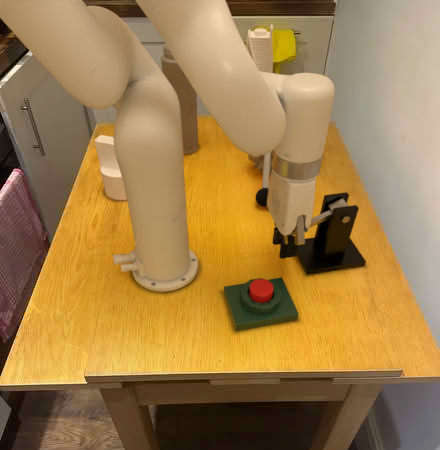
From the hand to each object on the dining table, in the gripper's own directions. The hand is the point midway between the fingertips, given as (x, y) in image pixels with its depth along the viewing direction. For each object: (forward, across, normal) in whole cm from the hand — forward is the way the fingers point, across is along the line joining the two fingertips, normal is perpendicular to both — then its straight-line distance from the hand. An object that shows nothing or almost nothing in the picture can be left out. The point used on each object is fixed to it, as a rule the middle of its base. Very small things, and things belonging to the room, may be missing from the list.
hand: (284, 249), depth 77 cm
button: (0, +10, -8) cm, 13 cm away
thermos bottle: (+3, -49, -12) cm, 50 cm away
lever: (-4, 0, +5) cm, 6 cm away
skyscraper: (+4, -50, +8) cm, 51 cm away
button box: (+3, +10, -8) cm, 13 cm away
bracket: (+4, 0, +9) cm, 10 cm away
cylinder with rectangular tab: (+3, -32, -29) cm, 43 cm away
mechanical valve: (+4, -27, +5) cm, 28 cm away
